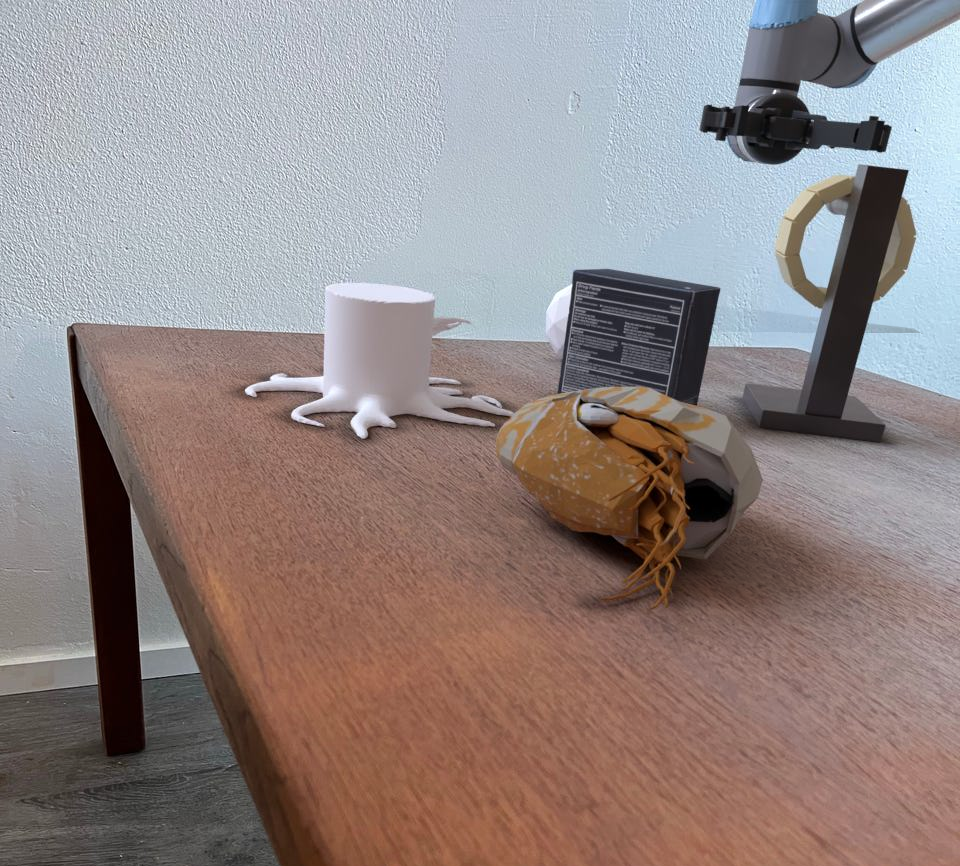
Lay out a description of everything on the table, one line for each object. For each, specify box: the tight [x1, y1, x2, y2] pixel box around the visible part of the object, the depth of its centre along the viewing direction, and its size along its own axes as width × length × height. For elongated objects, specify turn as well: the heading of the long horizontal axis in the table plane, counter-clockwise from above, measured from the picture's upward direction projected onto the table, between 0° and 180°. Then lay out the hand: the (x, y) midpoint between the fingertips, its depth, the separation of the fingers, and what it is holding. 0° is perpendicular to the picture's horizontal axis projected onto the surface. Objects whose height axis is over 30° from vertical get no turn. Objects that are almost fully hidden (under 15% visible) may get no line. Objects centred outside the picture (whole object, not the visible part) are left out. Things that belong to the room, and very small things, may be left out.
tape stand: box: [741, 163, 910, 443], centre depth 83 cm, size 10×14×20 cm
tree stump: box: [244, 282, 515, 440], centre depth 75 cm, size 20×19×8 cm
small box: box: [556, 268, 722, 406], centre depth 80 cm, size 11×6×10 cm, turn 58°
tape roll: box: [773, 174, 917, 310], centre depth 82 cm, size 10×5×10 cm, turn 85°
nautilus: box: [494, 387, 764, 611], centre depth 53 cm, size 8×22×15 cm
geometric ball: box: [544, 283, 572, 358], centre depth 96 cm, size 8×8×8 cm
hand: (810, 128), depth 100 cm, fingers open, 13 cm apart
